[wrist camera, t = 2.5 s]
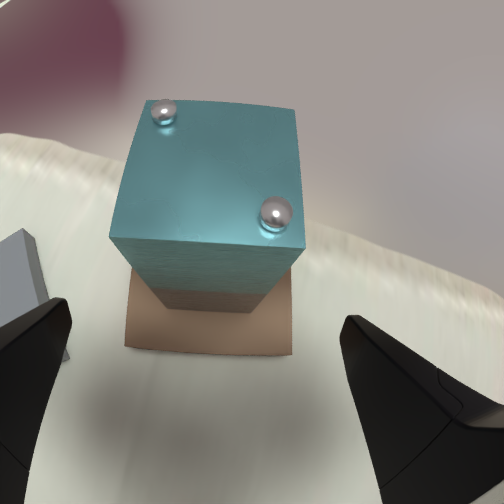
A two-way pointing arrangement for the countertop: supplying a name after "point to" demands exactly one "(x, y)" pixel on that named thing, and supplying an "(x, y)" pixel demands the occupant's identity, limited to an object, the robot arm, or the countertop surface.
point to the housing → (211, 203)
